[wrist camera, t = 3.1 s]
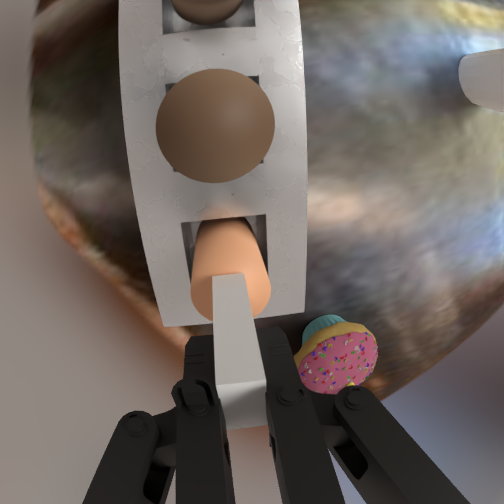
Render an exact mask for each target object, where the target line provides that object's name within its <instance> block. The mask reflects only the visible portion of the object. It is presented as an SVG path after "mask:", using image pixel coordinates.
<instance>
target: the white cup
mask: <svg viewBox="0 0 504 504" xmlns="http://www.w3.org/2000/svg"><path fill="white" fill-rule="evenodd" d="M458 71H459V80H460V84H461V88H462V90H463V92H464V94H465V96H466V97H467V98H468V99H469V100H470V101H471V102H472V103H473V104H476V105H478V106H482V107H486V108H490V109H493V110H497V111H500V112H504V49H497V50H491V51H485V52H479V53H474V54H468V55H465V56H464V57H463V58H462V59H461V60H460V64H459V67H458Z"/></svg>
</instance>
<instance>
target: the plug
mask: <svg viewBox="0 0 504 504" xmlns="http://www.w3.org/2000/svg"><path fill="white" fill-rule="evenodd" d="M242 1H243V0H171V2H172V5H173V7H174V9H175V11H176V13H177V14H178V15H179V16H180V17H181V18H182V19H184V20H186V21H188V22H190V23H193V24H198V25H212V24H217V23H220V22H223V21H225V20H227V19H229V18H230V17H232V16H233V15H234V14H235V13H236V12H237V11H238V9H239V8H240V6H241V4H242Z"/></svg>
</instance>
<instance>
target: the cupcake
mask: <svg viewBox="0 0 504 504" xmlns="http://www.w3.org/2000/svg"><path fill="white" fill-rule="evenodd" d="M377 352H379V349H378V346H377V345H376V340H375V338H374V336H373V334H372V333H371V332H370V331H369V330H367V329H366V328H365V327H364V326H363V325H362V324H357V323H350V322H346V321H345V320H343V319H342V318H341V317H339V316H336V315H324V316H321V317H318V318H316V319H315V320H313V321H312V322H310V323H309V324H308V325H307V327H306V328H305V330H304V332H303V337H302V347H301V349H300V350H299V352H298V353H296V354H295V355H294V360H295V363H296V366H297V369H298V372H299V375H300V378H301V381H302V383H303V384H304V385H305V386H306V387H307V388H308V389H310V390H312V391H314V392H317V393H323V394H337V393H338V392H339V391H340V390H341V389H343V388H344V387H347V386H351V385H360V383H361V382H363V381H364V380H365V378H368V377H369V375H370V374H371V373H372V371H373V368H374V366H375V365H376V364H375V363H376V360H377V358H378V353H377Z"/></svg>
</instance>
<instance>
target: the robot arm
mask: <svg viewBox="0 0 504 504" xmlns="http://www.w3.org/2000/svg"><path fill="white" fill-rule="evenodd" d="M212 290H213V331H214V335H204V336H192V337H190V339H189V341H188V342H187V344H186V345H185V358H184V375H183V379H182V380H180V381H178V382H177V383H176V384H175V386H174V387H173V389H172V392H171V394H172V397H173V399H174V402H175V404H176V407H174V408H173V409H171V410H169V411H167V412H165V413H161V414H158V415H154V416H151V415H150V414H149V413H146V412H144V411H133V412H129V413H128V414H126V415H124V416H123V417H122V418H121V419H120V421H119V422H118V424H117V427H116V429H115V431H114V433H113V435H112V437H111V439H110V442H109V444H108V446H107V448H106V451H105V453H104V455H103V457H102V459H101V461H100V464H99V466H98V468H97V471H96V473H95V475H94V477H93V480H92V482H91V484H90V487H89V489H88V491H87V494H86V496H85V499H84V501H83V503H82V504H165V502H166V498H167V495H168V492H169V488H170V485H171V482H172V479H173V475H174V472H175V469H176V504H236V503H235V496H234V488H233V478H232V469H231V460H230V451H229V442H228V439H227V431H226V429H237V428H246V427H255V426H262V425H268V427H269V438H270V447H271V448H272V453H273V458H274V463H275V469H276V474H277V479H278V484H279V488H280V493H281V498H282V503H283V504H345V501H344V497H343V495H342V491H341V488H340V485H339V482H338V479H337V476H336V472H335V469H334V466H333V463H332V460H331V457H330V454H329V451H330V452H331V453H332V455H333V456H334V458H335V459H336V461H337V462H338V464H339V465H340V466H341V468H342V470H343V471H344V472H345V474H346V475H347V477H348V478H349V479H350V481H351V482H352V484H353V485H354V487H355V488H356V489H357V491H358V492H359V494H360V495H361V496H362V498H363V499H364V501H365V502H366V503H367V504H470V503H469V502H468V501H467V499H466V498H465V497H464V496H463V495H462V494H461V493H460V492H459V491H458V490H457V488H456V487H455V486H454V485H453V484H452V483H451V481H450V480H449V479H448V478H447V477H446V476H445V475H444V474H443V472H442V471H441V470H440V469H439V468H438V467H437V466H436V464H435V463H434V462H433V461H432V460H431V459H430V458H429V457H428V455H427V454H426V453H425V452H424V451H423V450H422V449H421V448H420V446H419V445H418V444H417V443H416V442H415V441H414V440H413V438H412V437H411V436H410V435H409V434H408V433H407V432H406V431H405V429H404V428H403V427H402V426H401V425H400V424H399V423H398V422H397V420H396V419H395V418H394V417H393V416H392V415H391V414H390V413H389V411H388V410H387V409H386V408H385V407H384V406H383V404H382V403H381V402H380V401H379V400H378V399H377V398H376V397H375V395H374V394H373V393H372V392H371V391H369V390H368V389H367V388H365V387H362V386H359V385H351V386H347V387H344V388H343V389H341V390H340V391H339V392H338V393H337V394H323V393H317V392H314V391H312V390H310V389H308V388H307V387H306V386H305V385H304V384H303V383H302V381H301V378H300V375H299V372H298V369H297V366H296V363H295V360H294V357H293V354H292V351H291V348H290V345H289V341H288V338H287V335H286V333H285V332H284V331H283V330H282V329H281V328H280V327H279V326H277V327H269V328H261V329H255V325H254V320H253V315H252V310H251V305H250V300H249V295H248V290H247V286H246V281H245V276H244V273H236V274H227V275H217V276H212ZM328 449H329V451H328Z"/></svg>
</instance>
